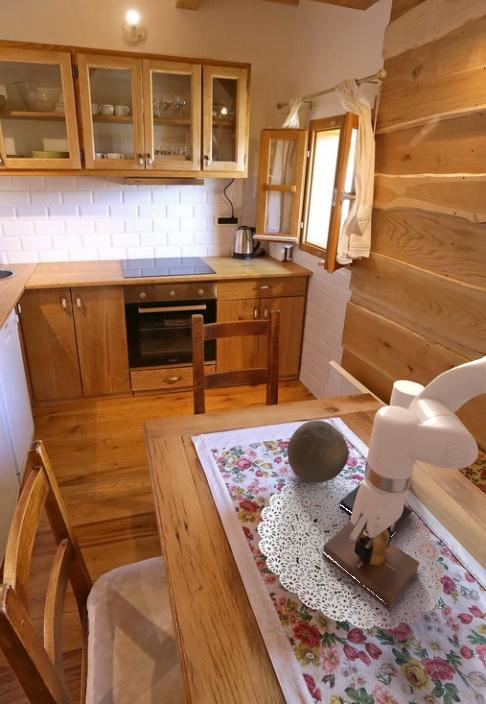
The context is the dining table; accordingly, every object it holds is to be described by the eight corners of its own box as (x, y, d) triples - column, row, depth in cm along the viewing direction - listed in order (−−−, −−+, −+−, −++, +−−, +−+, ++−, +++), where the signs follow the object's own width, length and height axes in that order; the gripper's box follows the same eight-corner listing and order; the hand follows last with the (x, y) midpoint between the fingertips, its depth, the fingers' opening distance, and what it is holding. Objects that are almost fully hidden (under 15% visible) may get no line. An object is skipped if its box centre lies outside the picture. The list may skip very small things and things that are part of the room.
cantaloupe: (296, 500, 95) (302, 447, 90) (278, 460, 108) (283, 412, 103) (352, 495, 97) (362, 442, 92) (328, 456, 110) (335, 408, 105)
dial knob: (367, 538, 82) (372, 516, 80) (390, 556, 78) (395, 533, 76) (352, 550, 79) (356, 527, 77) (374, 569, 75) (379, 546, 73)
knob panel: (416, 573, 78) (419, 561, 77) (388, 610, 71) (391, 598, 70) (352, 527, 88) (354, 516, 87) (322, 556, 81) (323, 544, 80)
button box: (410, 518, 91) (413, 504, 90) (388, 542, 85) (391, 528, 83) (362, 488, 99) (364, 475, 98) (338, 508, 93) (341, 494, 92)
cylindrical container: (408, 470, 106) (428, 385, 98) (404, 487, 100) (424, 398, 92) (380, 460, 109) (396, 377, 101) (374, 475, 104) (391, 389, 95)
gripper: (395, 446, 80) (380, 517, 86) (339, 479, 70) (326, 557, 77) (433, 468, 74) (414, 543, 80) (376, 507, 65) (360, 589, 71)
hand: (371, 549), depth 78 cm, fingers closed on dial knob, 5 cm apart
